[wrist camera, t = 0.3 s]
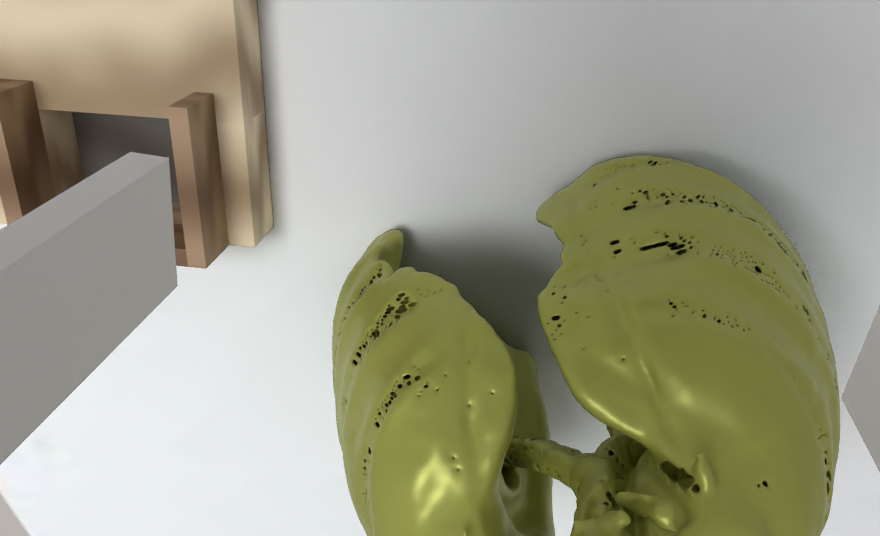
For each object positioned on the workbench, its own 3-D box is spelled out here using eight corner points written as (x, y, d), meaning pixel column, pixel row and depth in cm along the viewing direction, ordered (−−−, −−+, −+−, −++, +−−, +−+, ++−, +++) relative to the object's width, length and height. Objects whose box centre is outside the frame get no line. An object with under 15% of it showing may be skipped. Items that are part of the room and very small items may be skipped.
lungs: (759, 109, 38) (991, 387, 17) (808, 364, 44) (1028, 813, 23) (316, 235, 45) (86, 543, 24) (408, 441, 51) (288, 838, 30)
